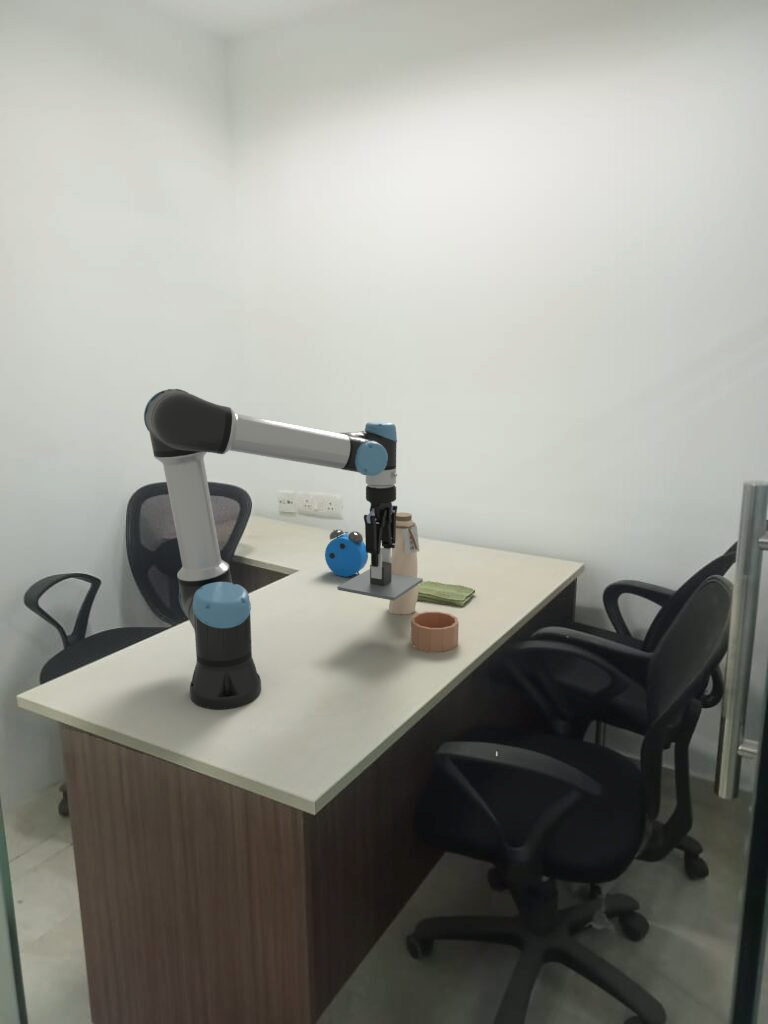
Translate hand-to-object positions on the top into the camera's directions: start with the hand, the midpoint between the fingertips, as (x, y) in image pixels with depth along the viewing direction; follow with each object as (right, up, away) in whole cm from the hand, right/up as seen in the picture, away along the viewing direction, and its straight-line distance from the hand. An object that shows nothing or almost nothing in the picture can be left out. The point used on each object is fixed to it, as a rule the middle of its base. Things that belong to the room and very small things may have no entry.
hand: (381, 575), depth 183 cm
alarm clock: (-12, -5, +53) cm, 55 cm away
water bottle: (+6, -12, +23) cm, 27 cm away
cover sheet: (0, -3, +1) cm, 3 cm away
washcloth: (+18, -10, +34) cm, 40 cm away
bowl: (+14, -17, +1) cm, 22 cm away
